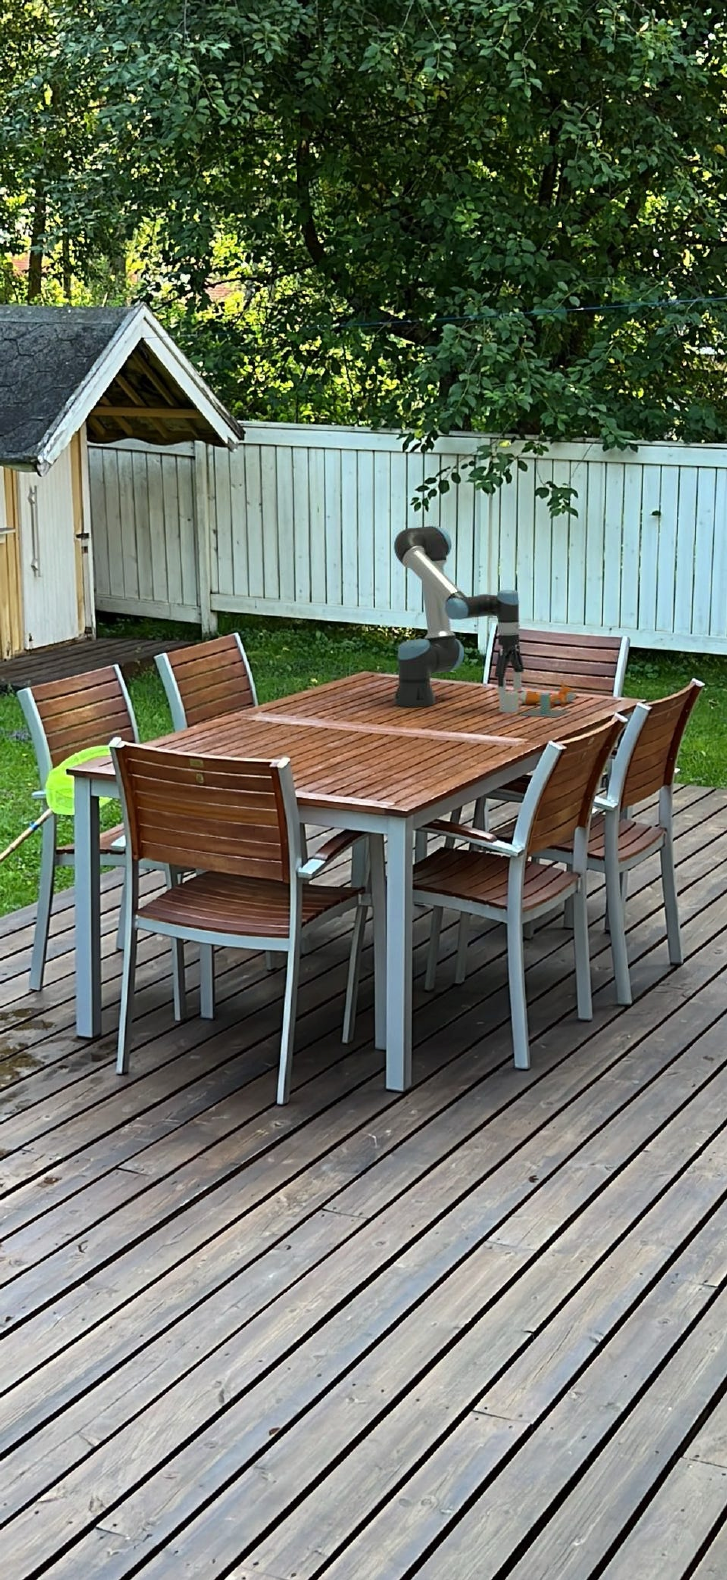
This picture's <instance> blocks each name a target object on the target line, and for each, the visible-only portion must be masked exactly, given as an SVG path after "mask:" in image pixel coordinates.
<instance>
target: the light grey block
mask: <svg viewBox="0 0 727 1580" xmlns="http://www.w3.org/2000/svg"><path fill="white" fill-rule="evenodd" d="M519 695H520V694H519V692H518V691H517V692H515V691H506V696H499V697H498V698H499V699H498V700H499V706H498V707H499V711H498V712H499V713H511V714H512V713H516V712H518V711H519V710H520V709H519V707H520V706H519V705H520V704H519Z"/></svg>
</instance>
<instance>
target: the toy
mask: <svg viewBox="0 0 727 1580" xmlns="http://www.w3.org/2000/svg"><path fill="white" fill-rule="evenodd" d="M560 684H561V685H560V686H561V689H560V690H559V691H558V694H553V695H550V708H553V707H554V705H560V706H561V707H562V708H565V707H566V706H565V705H566V704H571V703H572V702H573V700H574V699H576V698H577V697H578V696H577V694H576V693H575V692H574V690H573V689H572V688H571V687H569V686H565V684H564V681H563V680H562V681H561V683H560ZM519 700H520V702H521V703H523V704H524V705H526V706H529V705H533V706H534V705H537V704H540V695H539V694H538V693H536V692H533V691H530V690H526V691H523V692H522V693H520V694H519Z"/></svg>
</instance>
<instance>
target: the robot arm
mask: <svg viewBox="0 0 727 1580" xmlns="http://www.w3.org/2000/svg"><path fill="white" fill-rule="evenodd" d="M452 544H453V543H452V540H451V537H450V534H449V533H448V531H447V530H446V529H444V528H443V527H441V526H436V525H435V526H434V525H431V526H430V525H429V526H419V527H408V528H405V529H403V530H402V531H400V532H399V533H398V534H397V536H396V537H395V539H394V544H393V550H394V553H395V556H396V558H397V560H398V561H399V563H401V564H402V566H404V567H405V568H407V569H410V570H411V571H412V572H413V573H414V574H415V575H416V576H417V577H418V578H419V579H420V580H421V584H422V585H421V586H422V594H423V602H424V610H425V612H424V613H425V620H426V627H427V634H426V635H425V636H424V639H423V638H421V639H420V638H419V639H417V638H416V639H410V640H406V641H403V642H401V643H400V644H399V645H398V648H397V650H398V651H397V653H398V654H397V664H398V684H397V685H398V686H397V688H396V692H395V695H394V699H393V702H394V704H393V705H395V706H397V707H406V708H422V707H430V706H434V705H436V697H435V694H434V691H433V688H432V685H431V674H432V675H433V674H439V673H448V672H451V671H455V670H456V669H459V668H460V666H461V664H462V663H463V660H464V656H465V650H464V646H463V644H462V643H461V641H460V640H458V639H457V638H456V637H457V636H456V633H454V632H453V631H452V630H451V621H450V619H451V620H454V621H455V620H457V621H458V620H464V619H471V618H472V619H473V618H481V617H483V618H484V617H497V633H498V636H497V637H498V638H497V645H499V646H501V647H502V648H500V649H499V648H498V650H497V659H496V665H495V671H494V678H497V696H506V692H507V688H506V687H507V682H506V681H507V679H506V677H505V675H506V673H507V669H508V665H509V663H510V665H511V666H512V669H513V673H512V675H513V676H512V677H513V691H522V673H524V671H525V670H524V669H525V666H524V662H523V658H522V654H521V648H520V634H519V632H520V627H521V625H520V610H519V608H520V607H519V606H520V599H519V592H518V590H515V589H501V590H498V591H497V592H496V593H497V594H488V593H485V594H482V593H481V594H477V595H475V596H466V595H465V594H464V592H462V591H461V589H459V588H458V587H457V585H455V584H454V582H453V581H452V580H451V579H450V578H449V577H448V576H447V575H446V574H445V569H444V566H445V564H446V563H447V562H448V561H447V557H448V556H449V555H450V554H451V550H452Z"/></svg>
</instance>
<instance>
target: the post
mask: <svg viewBox="0 0 727 1580" xmlns="http://www.w3.org/2000/svg"><path fill="white" fill-rule="evenodd" d="M550 697H551V694H550V693H546V692H545V693H540V703H539V704H540V705H539V706H540V708H539V709H540V713H550V710H551V707H550Z"/></svg>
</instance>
